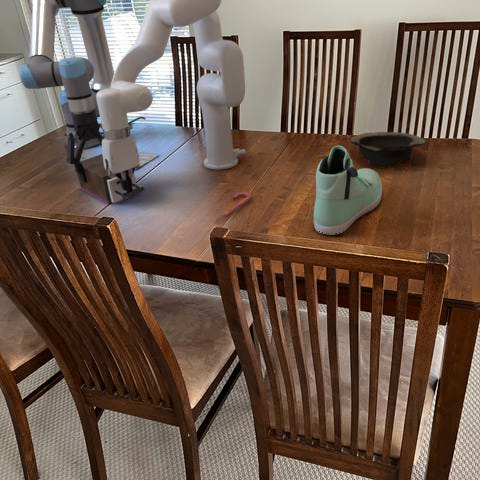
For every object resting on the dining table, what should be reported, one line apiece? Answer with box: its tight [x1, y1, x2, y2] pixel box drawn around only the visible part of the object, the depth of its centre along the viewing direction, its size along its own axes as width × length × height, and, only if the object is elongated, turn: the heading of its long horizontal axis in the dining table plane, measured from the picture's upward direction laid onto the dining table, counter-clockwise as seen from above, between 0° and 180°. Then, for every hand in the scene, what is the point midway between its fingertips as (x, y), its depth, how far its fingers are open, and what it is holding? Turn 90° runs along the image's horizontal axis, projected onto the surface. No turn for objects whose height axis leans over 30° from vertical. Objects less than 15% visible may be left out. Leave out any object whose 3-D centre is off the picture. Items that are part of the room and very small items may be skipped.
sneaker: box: [313, 145, 383, 236], centre depth 133 cm, size 14×35×20 cm, turn 152°
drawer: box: [106, 172, 146, 204], centre depth 155 cm, size 23×9×7 cm, turn 44°
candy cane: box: [223, 191, 253, 218], centre depth 145 cm, size 6×15×2 cm, turn 145°
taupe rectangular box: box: [76, 153, 114, 205], centre depth 159 cm, size 18×10×9 cm, turn 44°
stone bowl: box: [350, 131, 426, 169], centre depth 166 cm, size 25×25×9 cm
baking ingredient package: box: [138, 152, 159, 167], centre depth 182 cm, size 9×1×15 cm
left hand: (98, 175), depth 162 cm, fingers closed on taupe rectangular box, 10 cm apart
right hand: (127, 190), depth 149 cm, fingers closed
